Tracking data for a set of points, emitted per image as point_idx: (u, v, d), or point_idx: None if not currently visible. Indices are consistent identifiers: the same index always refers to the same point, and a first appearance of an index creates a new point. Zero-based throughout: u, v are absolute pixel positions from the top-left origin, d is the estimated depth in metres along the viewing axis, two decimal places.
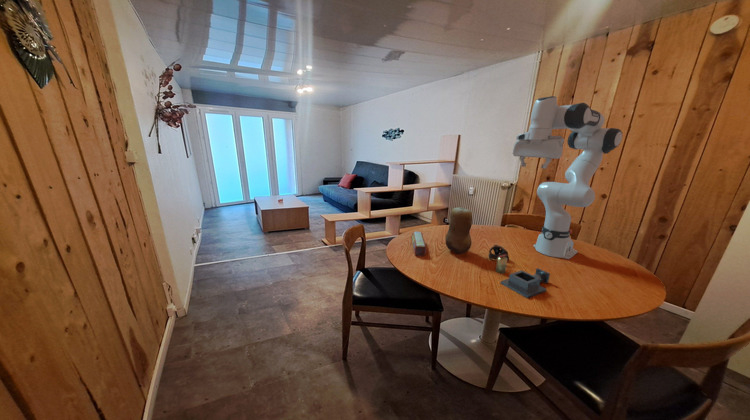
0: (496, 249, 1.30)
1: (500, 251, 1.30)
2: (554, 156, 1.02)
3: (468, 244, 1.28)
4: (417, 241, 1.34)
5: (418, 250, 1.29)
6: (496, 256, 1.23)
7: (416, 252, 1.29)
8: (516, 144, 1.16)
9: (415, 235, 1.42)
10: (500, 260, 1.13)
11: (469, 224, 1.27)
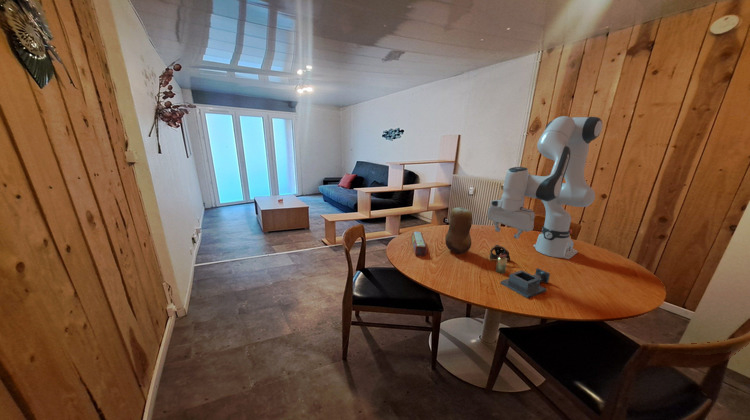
0: (497, 249, 1.30)
1: (501, 251, 1.30)
2: (525, 229, 1.01)
3: (468, 244, 1.28)
4: (417, 241, 1.34)
5: (418, 250, 1.29)
6: (497, 256, 1.23)
7: (417, 252, 1.29)
8: (490, 208, 1.14)
9: (415, 235, 1.42)
10: (500, 260, 1.13)
11: (469, 224, 1.27)
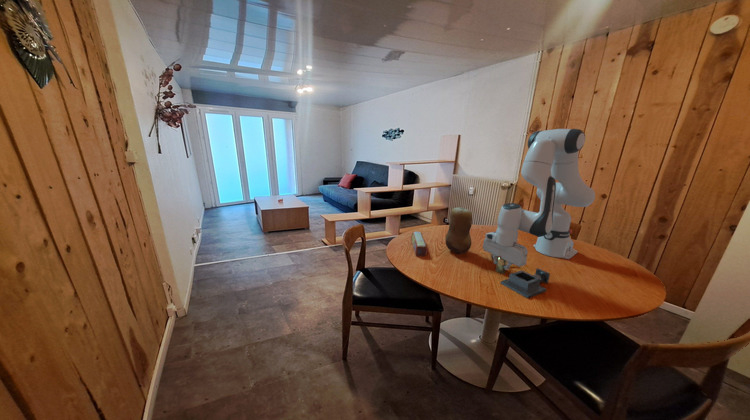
0: None
1: None
2: (518, 265, 1.05)
3: (468, 244, 1.28)
4: (418, 241, 1.34)
5: (419, 250, 1.29)
6: None
7: (417, 252, 1.29)
8: (485, 240, 1.19)
9: (415, 235, 1.42)
10: (500, 260, 1.13)
11: (469, 224, 1.27)
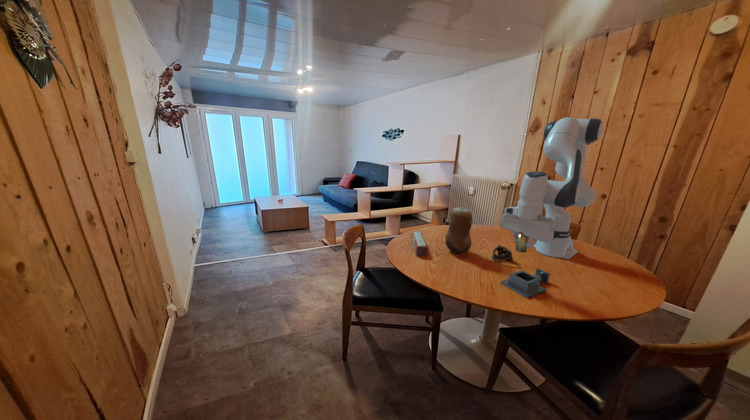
0: (500, 250, 1.30)
1: (504, 252, 1.29)
2: (544, 240, 0.92)
3: (468, 244, 1.28)
4: (418, 241, 1.34)
5: (419, 250, 1.29)
6: (500, 257, 1.23)
7: (417, 252, 1.29)
8: (504, 216, 1.06)
9: (415, 235, 1.42)
10: (521, 237, 1.00)
11: (469, 224, 1.27)
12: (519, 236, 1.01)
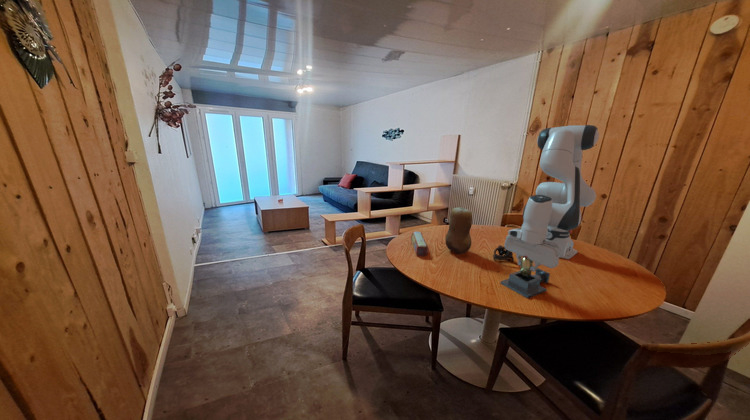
0: (500, 250, 1.29)
1: (504, 252, 1.29)
2: (549, 266, 0.91)
3: (468, 244, 1.28)
4: (418, 241, 1.34)
5: (419, 250, 1.29)
6: (501, 257, 1.22)
7: (418, 252, 1.29)
8: (508, 238, 1.04)
9: (415, 235, 1.42)
10: (526, 260, 0.98)
11: (469, 224, 1.27)
12: (523, 259, 0.99)
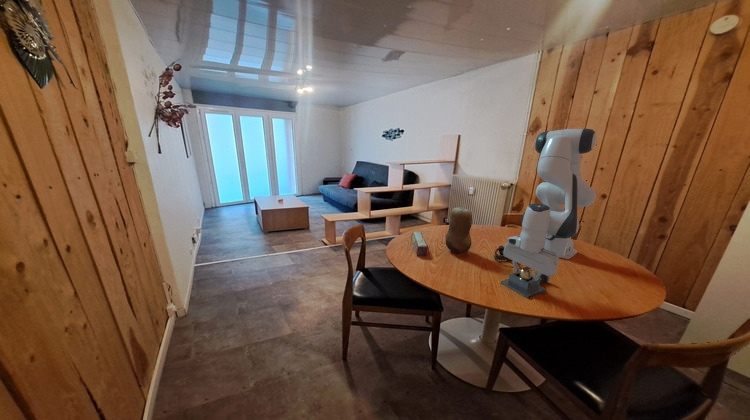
0: (501, 250, 1.29)
1: None
2: (548, 274, 0.92)
3: (468, 244, 1.28)
4: (418, 241, 1.34)
5: (420, 250, 1.29)
6: (502, 257, 1.22)
7: (418, 252, 1.29)
8: (507, 246, 1.05)
9: (415, 235, 1.42)
10: (524, 273, 1.00)
11: (469, 224, 1.27)
12: (522, 271, 1.01)
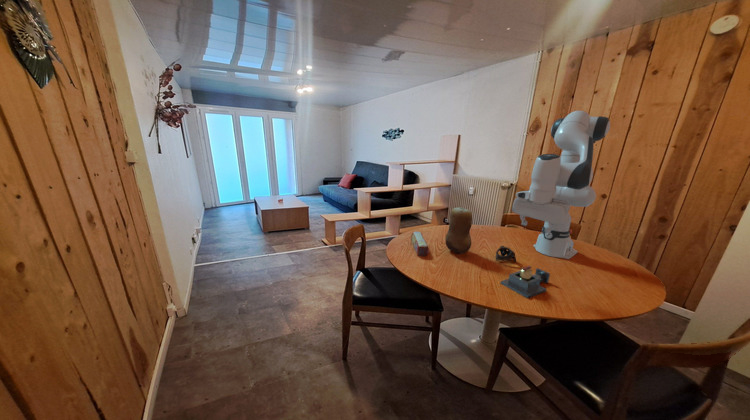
0: (503, 250, 1.29)
1: (507, 252, 1.29)
2: (559, 223, 0.91)
3: (468, 244, 1.28)
4: (419, 241, 1.34)
5: (420, 250, 1.29)
6: (504, 257, 1.22)
7: (419, 252, 1.29)
8: (516, 201, 1.04)
9: (415, 235, 1.42)
10: (524, 273, 1.00)
11: (469, 224, 1.27)
12: (522, 271, 1.01)
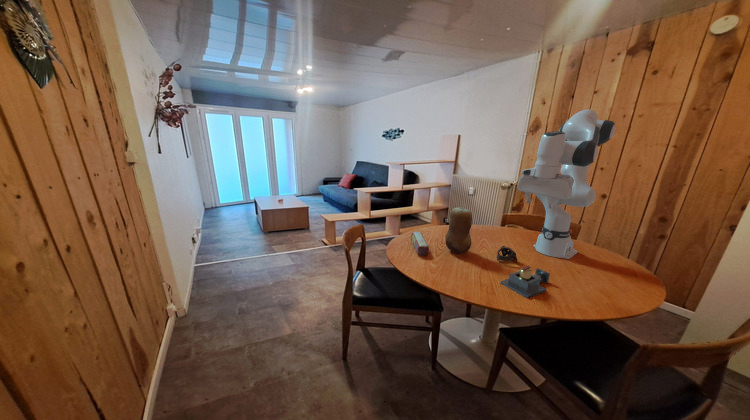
0: (504, 250, 1.29)
1: (508, 252, 1.29)
2: (563, 197, 0.94)
3: (468, 244, 1.28)
4: (419, 241, 1.34)
5: (421, 250, 1.29)
6: (505, 258, 1.22)
7: (419, 252, 1.29)
8: (521, 179, 1.08)
9: (415, 235, 1.42)
10: (524, 273, 1.00)
11: (469, 224, 1.27)
12: (521, 272, 1.01)
